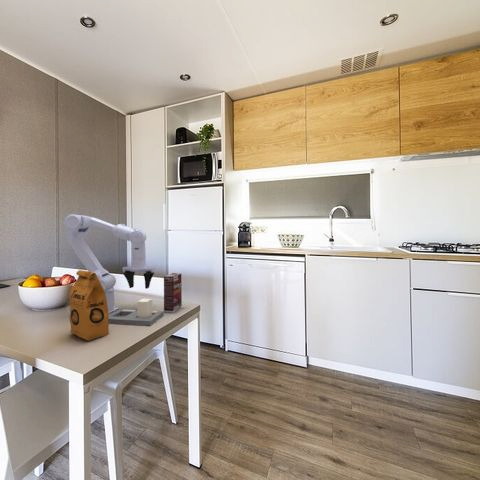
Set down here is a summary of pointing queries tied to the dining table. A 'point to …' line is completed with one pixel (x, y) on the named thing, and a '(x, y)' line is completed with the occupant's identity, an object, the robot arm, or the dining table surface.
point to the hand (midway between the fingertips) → (139, 287)
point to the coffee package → (88, 307)
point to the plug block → (145, 308)
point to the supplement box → (172, 292)
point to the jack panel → (133, 317)
